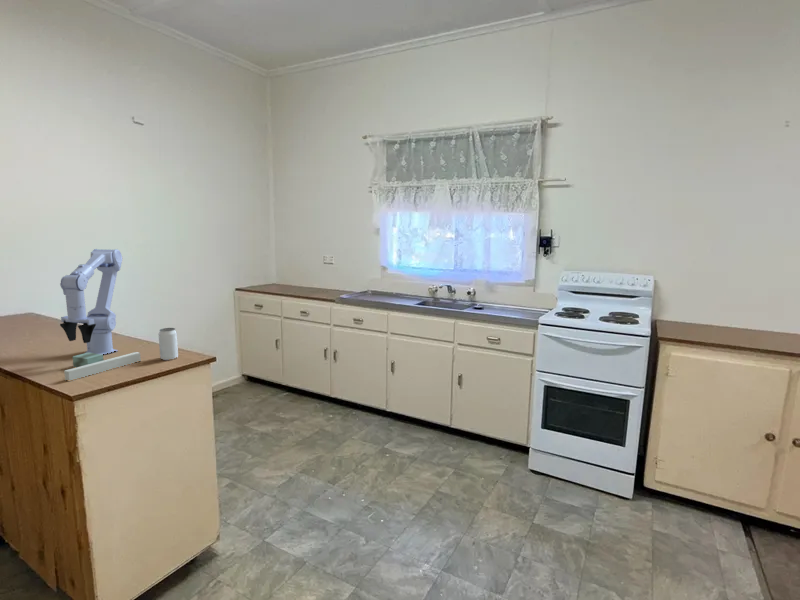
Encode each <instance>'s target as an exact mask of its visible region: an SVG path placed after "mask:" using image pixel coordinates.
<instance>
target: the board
mask: <svg viewBox="0 0 800 600" xmlns="http://www.w3.org/2000/svg"><path fill="white" fill-rule="evenodd" d="M141 358H142V357H141V352H138V351H136V352H135V351H133V352H131V353H127V354H123V355H120V356H119V355H118V356H116V357H112V358H108V359H104V360H103V361H100V362H96V363H92V364H88V365H84V366H80V367H76V368H74V367H73V368H69V369H65V370H63V371H64V373H63V374H64V380H65V381H66V380H73V379H77V378H80V379H82V378H81V377H84V378H86V377H85V376H87V377H89V376H88V375H91V376H93V375H92V374H94V375H97V374H96V373H98V374H100V373H99V372H102V373H104V372H103V371H105V372H107V371H106V370H109V369H112V368H116V367H119V368H121V367H120V366H123V367H125V366H124V365H126V366H128V365H127V364H130V365H132V364H131V363H133V364H135V363H134V362H137V361H141V362H142V359H141ZM137 363H138V362H137ZM116 369H117V368H116ZM112 370H113V369H112ZM109 371H110V370H109ZM77 380H78V379H77ZM73 381H74V380H73Z"/></svg>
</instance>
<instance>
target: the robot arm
mask: <svg viewBox="0 0 800 600" xmlns="http://www.w3.org/2000/svg"><path fill="white" fill-rule="evenodd" d="M122 264H123V256H122V252H121V251H120V250H119V249H118V248H117V249H116V248H114V249H98V248H93V249H92V250H91V252H90V257H89V259H87V261H86V263H83V264H79V265H78V266H77V267H76V268H75V269H74V270H73V271H71V273H70V274H66V275H63V276H62V277H61V279H60V283H59V285H60V288H61V289H62V293H63V295H65V302H66V304H65V305H66V312H67V315H65V316H64V315H63V316H60V319H61V320H60V321H61V323H60V325H59V326H60V327H61V328H62V330H63V331H64V333H65V335H66V337H67V339H68V341H69V342H73V341H76V340H77V328H78V329H79V331H80V333H81V339H82V342H83V343H84V344H86V349H87V351H85V352H84V353H88V352H89V353H96V354H102V355H103V354H104V355H108V354H112V353H115V352H114V351H116V352H118V351H119V350H118V349H115V348H114V347H113V344H114V343H113V335H112V331H114V329H115V328H116V327H117V326H116V324H117V322H116V321H117V320H116V318H117V314H116V313H115V312H114V311H113V310H111V305H112V301H113V296H114V290H115V287H116V286H115V285H116V281H117V276H118V272H119V271H120V270H121V267H122ZM95 270H97V271H100V272H101V273H102V275H101V280H100V284H99V288H98V289H99V290H98V293H97V297H96V303H95V307H94V308H93V309H91V310H89V311H88V312H87V309H86V301H85V300H86V299H85V289H86V288H87V285H88V283H89V280H90V279H92V277H93V276H94V274H95ZM79 324H80V325H79ZM111 352H112V353H111ZM107 353H108V354H107ZM104 355H103V356H104Z"/></svg>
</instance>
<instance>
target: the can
mask: <svg viewBox="0 0 800 600" xmlns="http://www.w3.org/2000/svg"><path fill="white" fill-rule="evenodd" d="M158 345H159V355H160V356H159V357H160V360H161V359H163V360H162V361H170V360H169V359H174V358H176V357H177V358H178V357H179V349H178V346H179V345H178V334H177V331H176V327H175V328H174V327H165V328H160V329H159V332H158ZM177 358H176V359H177ZM174 360H175V359H174Z"/></svg>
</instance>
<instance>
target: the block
mask: <svg viewBox="0 0 800 600" xmlns="http://www.w3.org/2000/svg"><path fill="white" fill-rule="evenodd" d="M71 358H72V365H73V368H74V367H80V366H84V365H88V364H92V363H96V362H100V361H103V360H105V359H104V355H102V354H96V353H89V352H88V353H85V352H84V353H80V354H77V355H73V356H72V357H71Z"/></svg>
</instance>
